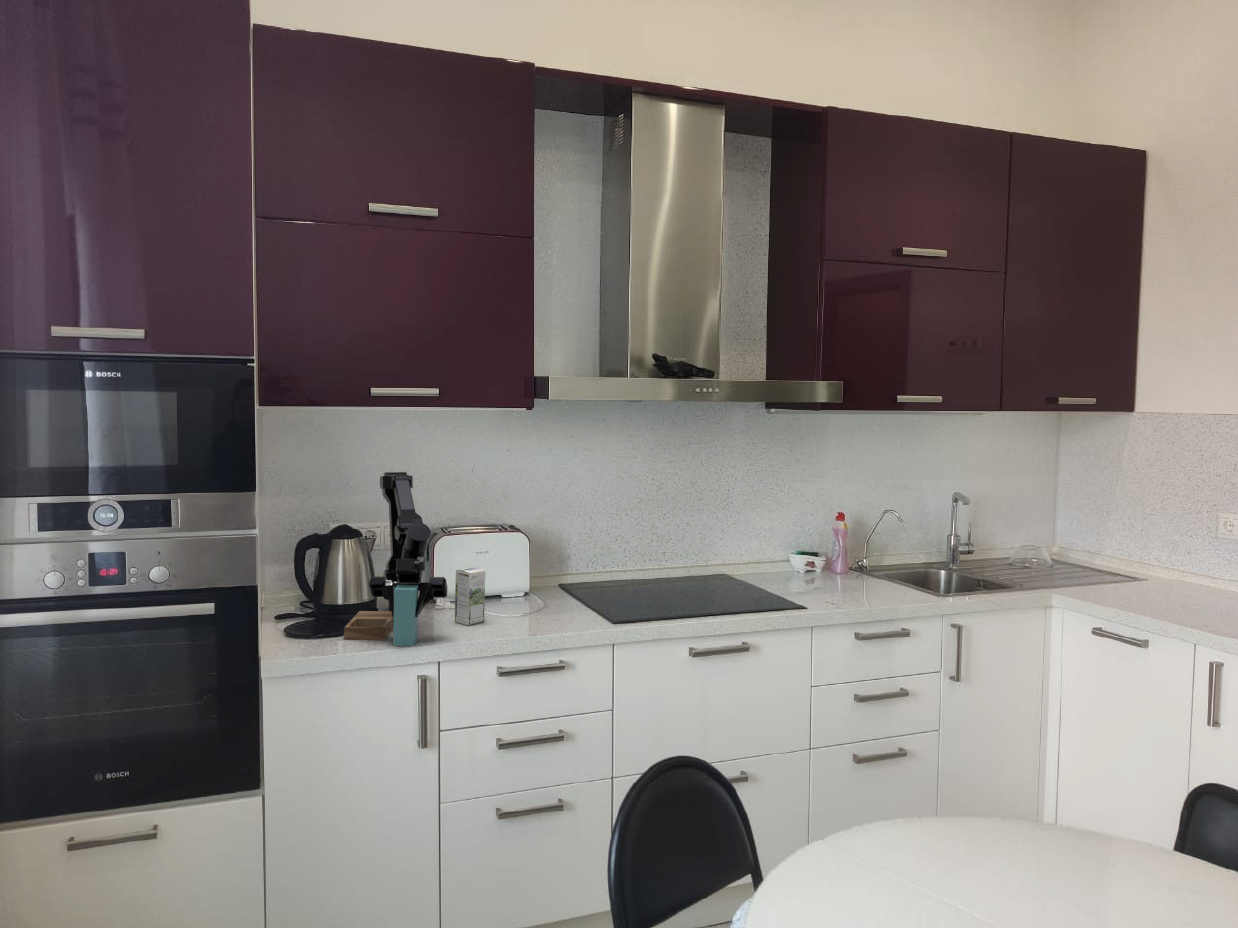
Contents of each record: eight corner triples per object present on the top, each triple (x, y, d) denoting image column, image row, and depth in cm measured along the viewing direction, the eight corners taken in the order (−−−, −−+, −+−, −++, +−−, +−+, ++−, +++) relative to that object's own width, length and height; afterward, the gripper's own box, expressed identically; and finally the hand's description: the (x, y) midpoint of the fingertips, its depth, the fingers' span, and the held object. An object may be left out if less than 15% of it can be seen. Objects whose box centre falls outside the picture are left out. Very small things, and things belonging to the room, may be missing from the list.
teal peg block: (397, 639, 231) (397, 584, 230) (417, 640, 231) (418, 585, 230) (393, 645, 226) (394, 589, 225) (414, 645, 226) (414, 589, 225)
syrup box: (470, 618, 254) (470, 566, 253) (485, 622, 250) (485, 569, 249) (454, 622, 250) (454, 569, 248) (469, 626, 246) (469, 572, 245)
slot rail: (359, 622, 248) (359, 611, 247) (397, 622, 248) (397, 611, 248) (344, 639, 231) (344, 627, 230) (384, 639, 231) (384, 627, 231)
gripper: (370, 544, 230) (360, 598, 220) (446, 545, 231) (439, 599, 221) (376, 569, 239) (367, 622, 228) (450, 570, 240) (444, 623, 230)
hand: (404, 616), depth 227 cm, fingers closed on teal peg block, 5 cm apart
